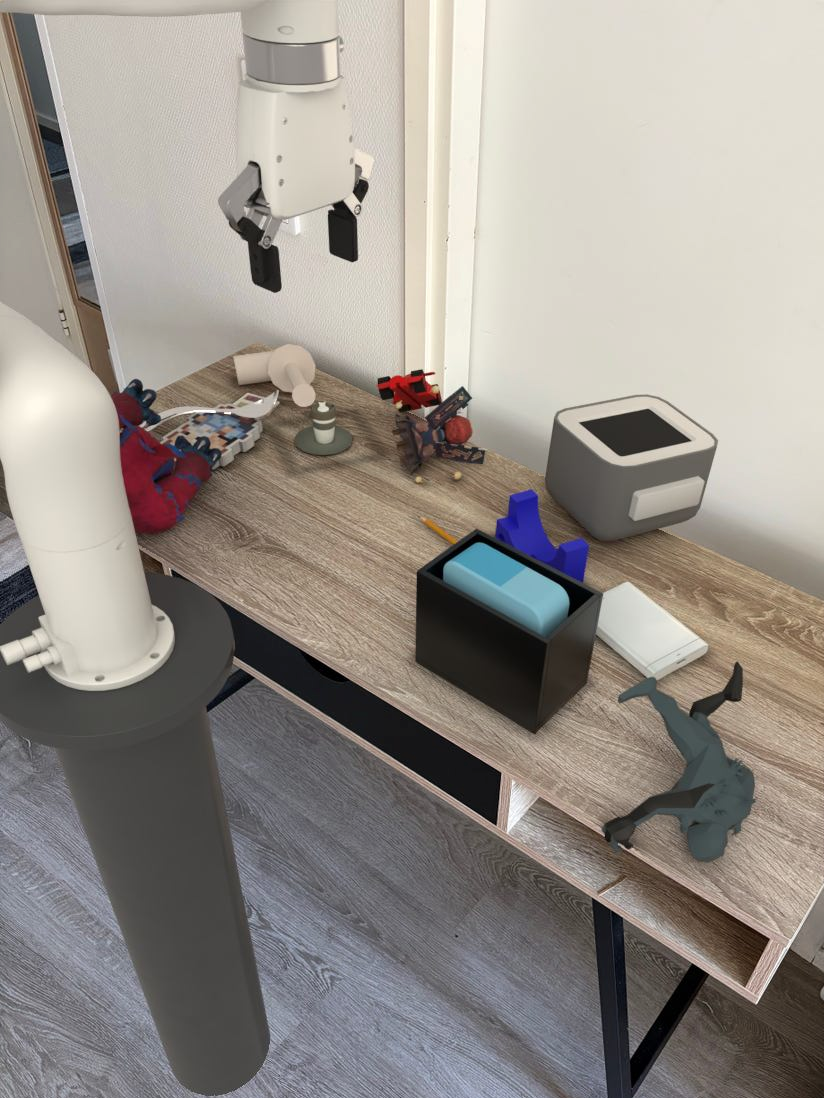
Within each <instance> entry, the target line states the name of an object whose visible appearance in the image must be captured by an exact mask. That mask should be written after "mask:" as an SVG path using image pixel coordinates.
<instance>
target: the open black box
mask: <svg viewBox="0 0 824 1098" xmlns="http://www.w3.org/2000/svg"><path fill="white" fill-rule="evenodd" d="M457 541H458V542H457V543H455V544H454V545H453V544H452V545H451V546H449V547H448V548H447V549H445V550H444V551H443V552H441V553H440V554H438V555H437V556H435V557H434V558H433V559H432V560H430V561H429V562H427V563H426V564H424V565H423V566H422V567H420V568H418V569H417V570H416V583H415V585H416V586H415V590H416V591H415V593H416V594H415V598H416V599H415V647H414V648H415V652H414V653H415V654H414V663H416V664H418V665H420V666H421V667H423V668H425V669H426V670H428V671H430V672H431V673H433V674H434V675H436V676H438V677H440V678H441V679H443V680H444V681H446V682H448V683H449V684H451V685H453V686H454V687H455V688H457V689H459V690H461V691H463V692H464V693H466V695H467V694H468V696H470V697H472V698H474V699H476V700H477V701H479V702H481V703H482V704H484V705H485V706H486V707H488V708H490V709H492V710H494V711H495V712H497V713H499V714H500V715H502V716H504V717H505V718H507V719H508V720H510V721H511V722H513V723H515V724H516V725H519V726H520V727H521V728H523V729H525V730H527V731H528V732H530V733H531V734H533V735H536V734H537V733H538V732H539V731H540V730H541V729H542V727H544V726H545V725H546V724H547V723H548V722H549V721H550V720H551V719H553V717H554V716H555V715H556V714H557V713H558V712H559V711H560V710H561V709H562V708H563V707H564V706H565V705H566V704H567V703H568V702H570V700H572V698H573V697H575V696H576V694H577V693H579V692H580V691H581V690H582V689H583V688H584V687H585V686H586V685H587V683H588V678H589V673H590V667H591V663H592V657H593V652H594V646H595V642H596V636H597V635H596V631H597V625H598V620H599V614H600V609H601V604H602V598H603V593H604V592H601V591H600V590H597V589H595V588H594V587H591V586H590V585H588V584H586V583H584V582H583V583H582V582H580V581H578V580H576V579H574V578H572V577H570V576H568V575H566V574H564V573H562V572H560V571H558V570H557V569H555V568H553V567H551V566H549V565H547V564H545V563H543V562H541V561H539V560H537V559H535V558H533V557H531V556H529V555H527V554H525V553H523V552H521V551H519V550H518V549H516V548H514V547H512V546H510V545H508V544H506V543H504V542H502V541H500V540H498V539H496V538H495V537H494V536H492V535H490V534H488V533H487V532H484V531H482V530H480V529H479V528H475V529H474V530H472V531H471V532H469V533H468V534H467V535H465V536H464V537H462V538H461V539H459V540H457ZM475 543H484V544H486V545H488V546H490V547H492V548H493V549H495V550H497V551H499V552H501V553H503V554H504V555H506V556H508V557H510V558H512V559H513V560H515V561H517V562H519V563H521V564H523V565H524V566H526V567H528V568H530V569H532V570H533V571H535V572H537V573H539V574H541V575H543V576H544V577H546V578H548V579H550V580H552V581H553V582H555V583H557V584H559V585H560V586H561V587H562V588H563V589H564V590H565V591H566V593H567V595H568V597H569V610H568V617H567V619H566V620H565V621H564V622H562V623H561V624H560V625H559V626H558V627H557V628H556V629H555V630H553V631H552V632H551V633H550V634H549V635H548V636H547V637H544V636H542V635H541V634H539V633H537V632H535V631H533V630H532V629H530V628H528V627H526V626H524V625H522V624H521V623H519V622H517V621H515V620H513V619H512V618H510V617H508V616H506V615H504V614H503V613H501V612H499V611H497V610H495V609H493V608H492V607H490V606H488V605H486V604H484V603H483V602H481V601H479V600H477V599H475V598H474V597H472V596H470V595H468V594H466V593H465V592H463V591H461V590H459V589H457V588H455V587H454V586H452V585H450V584H448V583H446V582H445V581H443V569H444V566H445V564H446V563H447V562H448V561H450V560H451V559H453V558H454V557H456V556H457V555H459V554H460V553H462V552H463V551H465V550H466V549H468V548H469V547H471V546H472V545H473V544H475Z"/></svg>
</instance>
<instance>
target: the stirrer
mask: <svg viewBox="0 0 824 1098" xmlns="http://www.w3.org/2000/svg"><path fill="white" fill-rule="evenodd" d="M279 392H280V389H275V390H274V392H272V393H271V394H270V395H268V396H266V397H265V398H264V399H262V400H259V401H257V402H254V403H251V404H249V405H246V406H243V407H240V408H234V409H216V408H214V407H205V406H195V405H194V406H193V405H192V406H190V405H189V406H188V405H187V406H186V405H185V406H178V407H174V408H170V409H167V410H164V411H161V412H159V413H157V414H158V415H160V416H161V421H160V423H158V424H156V425H152V426H147V427H145V428H144V429H145V430H146V431H148V432H150V431H153V430H154V429H156V428H158V427H159V426H161V425H164V424H166V423H167V422H169V421H171V420H174V419H176V418H179V417H182V416H185V415H188V414H193V413H196V412H214V413H225V414H232V415H238V416H242V417H247V418H252V419H265V418H267V417H268V416H270V415H271V414H272V413H273V411H274V409H275V408H276V407H275V405H276V402H277V401H278V397H279ZM274 407H275V408H274ZM145 424H146V421H143V423H142V424H141V425H139V426H140V427H144V426H145Z"/></svg>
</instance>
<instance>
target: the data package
mask: <svg viewBox="0 0 824 1098" xmlns="http://www.w3.org/2000/svg"><path fill="white" fill-rule="evenodd" d="M443 581H445V582H446V583H448V584H450V585H452V586H454V587H455V588H457V589H459V590H461V591H463V592H465V593H466V594H468V595H470V596H472V597H474V598H475V599H477V600H479V601H481V602H483V603H484V604H486V605H488V606H490V607H492V608H493V609H495V610H497V611H499V612H501V613H503V614H504V615H506V616H508V617H510V618H512V619H513V620H515V621H517V622H519V623H521V624H522V625H524V626H526V627H528V628H530V629H532V630H533V631H535V632H537V633H539V634H541V635H542V636H544V637H547V636H548V635H549V634H550V633H551V632H552V631H553V630H555V629H556V628H557V627H558V626H559V625H560V624H561V623H562V622H564V621H565V620H566V619H567V617H568V610H569V597H568V595H567V593H566V591H565V590H564V589H563V588H562V587H561V586H560V585H559V584H557V583H555V582H553V581H552V580H550V579H548V578H546V577H544V576H543V575H541V574H539V573H537V572H535V571H533V570H532V569H530V568H528V567H526V566H524V565H523V564H521V563H519V562H517V561H515V560H513V559H512V558H510V557H508V556H506V555H504V554H503V553H501V552H499V551H497V550H495V549H493V548H492V547H490V546H488V545H486V544H484V543H475V544H473V545H472V546H471V547H469V548H468V549H466V550H465V551H463V552H462V553H460V554H459V555H457V556H456V557H454V558H453V559H451V560H450V561H448V562H447V563H446V564H445V566H444V569H443Z"/></svg>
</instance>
